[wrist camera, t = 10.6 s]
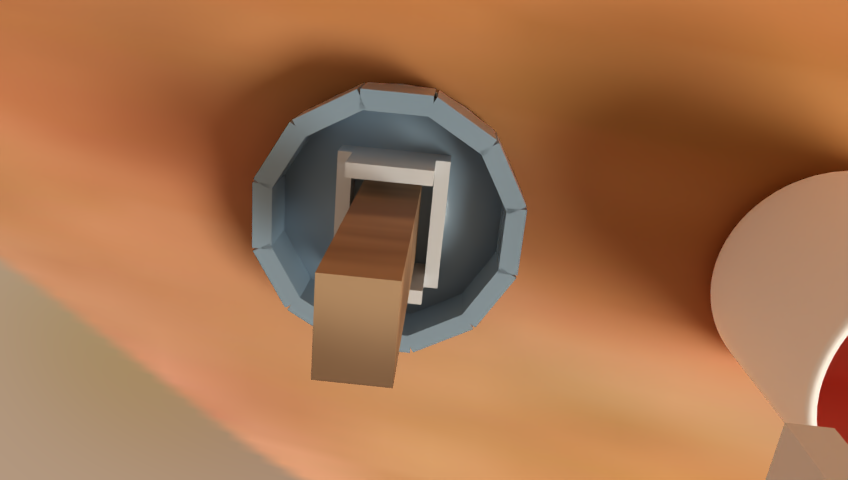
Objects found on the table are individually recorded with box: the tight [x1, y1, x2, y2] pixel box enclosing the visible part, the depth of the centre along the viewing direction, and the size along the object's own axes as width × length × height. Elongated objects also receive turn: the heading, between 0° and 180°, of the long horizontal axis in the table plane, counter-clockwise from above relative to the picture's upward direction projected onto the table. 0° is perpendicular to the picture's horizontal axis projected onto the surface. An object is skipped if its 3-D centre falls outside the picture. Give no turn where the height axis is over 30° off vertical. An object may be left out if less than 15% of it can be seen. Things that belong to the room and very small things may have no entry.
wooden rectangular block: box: [311, 179, 422, 388], centre depth 24 cm, size 3×2×11 cm
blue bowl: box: [252, 82, 527, 353], centre depth 28 cm, size 11×11×4 cm
